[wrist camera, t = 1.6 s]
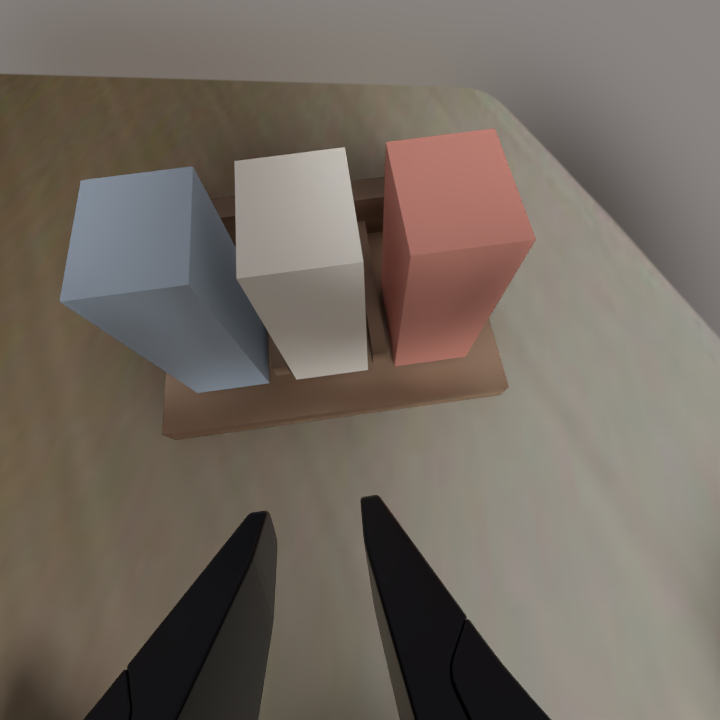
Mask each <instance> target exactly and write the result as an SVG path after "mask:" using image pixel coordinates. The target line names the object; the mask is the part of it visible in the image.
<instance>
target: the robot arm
mask: <svg viewBox="0 0 720 720" xmlns="http://www.w3.org/2000/svg"><path fill="white" fill-rule="evenodd" d="M361 512H362V524H363V536H364V544H365V550H366V557H367V563H368V569H369V576H370V582H371V589H372V595H373V602H374V607H375V612H376V617H377V622H378V626H379V630H380V635H381V639H382V643H383V648H384V652H385V657H386V661H387V665H388V670H389V674H390V678H391V683H392V687H393V692H394V696H395V700H396V705H397V709H398V713H399V718H400V720H551V719H550V718H549V717H548V716H547V715H546V713H545V712H544V711H543V710H542V709H541V708H540V707H539V706H538V704H537V703H536V702H535V701H534V700H533V699H532V698H531V697H530V695H529V694H528V693H527V692H526V691H525V690H524V688H523V687H522V686H521V685H520V684H519V683H518V681H517V680H516V679H515V678H514V677H513V676H512V674H511V673H510V672H509V671H508V670H507V669H506V667H505V666H504V665H503V664H502V662H501V661H500V660H499V659H498V657H497V656H496V655H495V653H494V652H493V651H492V649H491V648H490V647H489V646H488V644H487V643H486V642H485V640H484V639H483V638H482V636H481V635H480V634H479V632H478V631H477V630H476V628H475V627H474V625H473V624H472V623H471V621H470V620H468V619H467V617H466V615H465V613H464V612H463V611H462V609H461V608H460V606H459V605H458V604H457V602H456V601H455V600H454V598H453V597H452V595H451V594H450V593H449V591H448V590H447V589H446V587H445V586H444V584H443V583H442V582H441V580H440V579H439V578H438V576H437V575H436V573H435V572H434V571H433V569H432V568H431V567H430V565H429V564H428V562H427V561H426V560H425V558H424V557H423V556H422V554H421V553H420V551H419V550H418V549H417V547H416V546H415V545H414V543H413V542H412V540H411V539H410V538H409V536H408V535H407V534H406V532H405V531H404V529H403V528H402V527H401V525H400V524H399V523H398V521H397V520H396V518H395V517H394V516H393V514H392V513H391V512H390V510H389V509H388V507H387V506H386V505H385V503H384V502H383V501H382V499H381V498H380V497H379V496H378V495H373V496H366V497H362V498H361ZM276 563H277V538H276V534H275V530H274V526H273V523H272V519H271V516H270V514H269V512H268V511H260V512H253V513H250V514H249V515H248V516H247V517H246V518H245V519H244V521H243V522H242V523H241V524H240V526H239V527H238V528H237V529H236V531H235V532H234V533H233V534H232V536H231V537H230V538H229V539H228V541H227V542H226V543H225V544H224V546H223V547H222V548H221V549H220V551H219V552H218V553H217V554H216V556H215V557H214V558H213V559H212V561H211V562H210V563H209V564H208V566H207V567H206V568H205V569H204V571H203V572H202V573H201V574H200V576H199V577H198V578H197V579H196V581H195V582H194V583H193V584H192V586H191V587H190V588H189V589H188V591H187V592H186V593H185V594H184V596H183V597H182V598H181V599H180V601H179V602H178V603H177V604H176V606H175V607H174V608H173V609H172V611H171V612H170V613H169V614H168V616H167V617H166V618H165V619H164V621H163V622H162V623H161V624H160V626H159V627H158V628H157V629H156V631H155V632H154V633H153V634H152V636H151V637H150V638H149V639H148V641H147V642H146V643H145V644H144V646H143V647H142V648H141V649H140V651H139V652H138V653H137V654H136V656H135V657H134V658H133V659H132V661H131V662H130V663H129V664H128V666H127V670H124V671H123V672H122V673H121V674H120V675H119V677H118V678H117V679H116V680H115V682H114V683H113V684H112V685H111V687H110V688H109V689H108V690H107V692H106V693H105V694H104V695H103V696H102V698H101V699H100V700H99V701H98V702H97V704H96V705H95V706H94V707H93V709H92V710H91V711H90V712H89V713H88V715H87V716H86V717H85V718H84V719H83V720H258V717H259V711H260V704H261V698H262V692H263V685H264V679H265V672H266V666H267V660H268V653H269V647H270V640H271V634H272V627H273V618H274V602H275V583H276Z"/></svg>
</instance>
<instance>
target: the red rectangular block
mask: <svg viewBox="0 0 720 720" xmlns="http://www.w3.org/2000/svg"><path fill="white" fill-rule="evenodd" d="M535 240H536V238H535V236H534V233H533V230H532V228H531V225H530V222H529V220H528V217H527V214H526V211H525V209H524V206H523V203H522V201H521V198H520V195H519V192H518V190H517V187H516V184H515V182H514V179H513V176H512V174H511V171H510V168H509V165H508V163H507V160H506V157H505V155H504V152H503V149H502V146H501V144H500V141H499V138H498V136H497V133H496V130H495V128H494V129H486V130H478V131H470V132H462V133H455V134H447V135H439V136H431V137H423V138H415V139H407V140H399V141H391V142H386V156H385V186H384V216H383V246H382V275H381V292H382V298H383V304H384V309H385V315H386V321H387V326H388V332H389V338H390V343H391V349H392V355H393V360H394V366H401V365H409V364H416V363H423V362H431V361H438V360H446V359H453V358H460V357H466V355H467V353H468V352H469V350H470V348H471V347H472V345H473V343H474V342H475V340H476V338H477V337H478V335H479V333H480V332H481V330H482V328H483V327H484V325H485V323H486V322H487V320H488V318H489V317H490V315H491V313H492V312H493V310H494V308H495V307H496V305H497V303H498V302H499V300H500V298H501V297H502V295H503V293H504V292H505V290H506V288H507V287H508V285H509V283H510V282H511V280H512V278H513V277H514V275H515V273H516V272H517V270H518V268H519V267H520V265H521V263H522V262H523V260H524V258H525V257H526V255H527V253H528V252H529V250H530V248H531V247H532V245H533V243H534V242H535Z"/></svg>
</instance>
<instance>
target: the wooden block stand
mask: <svg viewBox="0 0 720 720" xmlns="http://www.w3.org/2000/svg"><path fill="white" fill-rule="evenodd" d="M350 182H351V188H352V194H353V200H354V206H355V213H356V219H357V225H358V231H359V237H360V243H361V250H362V256H363V262H364V286H365V310H366V335H367V359H368V370H364V371H357V372H349V373H342V374H335V375H327V376H320V377H313V378H305V379H298V380H296V378H295V376H294V375H293V373H292V371H291V370H290V368H289V366H288V365H287V363H286V361H285V359H284V358H283V356H282V354H281V353H280V351H279V349H278V348H277V346H276V344H275V343H274V341H273V339H272V338H271V336H270V334H269V333H268V331H267V339H268V360H269V380H270V383H268V384H261V385H253V386H246V387H239V388H231V389H224V390H217V391H209V392H202V393H197V392H195V391H194V390H192V389H191V388H189V387H188V386H186V385H185V384H183V383H182V382H180V381H179V380H177V379H176V378H174V377H173V376H171V375H169V374H168V373H166V377H165V395H164V412H163V430H162V435H164V436H167V437H169V438H172V439H175V440H177V439H184V438H191V437H199V436H206V435H213V434H220V433H228V432H235V431H242V430H249V429H256V428H264V427H271V426H278V425H285V424H293V423H300V422H307V421H314V420H322V419H329V418H336V417H343V416H351V415H358V414H365V413H372V412H380V411H387V410H394V409H401V408H408V407H416V406H423V405H430V404H437V403H445V402H452V401H459V400H466V399H474V398H481V397H488V396H495V395H501V394H502V393H503V392H504V391H505V390H506V389H507V388H508V383H507V380H506V376H505V373H504V369H503V366H502V362H501V359H500V355H499V352H498V348H497V345H496V341H495V338H494V335H493V331H492V328H491V324H490V321H489V318H488V320H487V322H486V323H485V325H484V327H483V328H482V330H481V332H480V333H479V335H478V337H477V338H476V340H475V342H474V343H473V345H472V347H471V348H470V350H469V352H468V353H467V355H466V357H460V358H453V359H446V360H438V361H431V362H423V363H416V364H409V365H401V366H394V360H393V355H392V349H391V343H390V338H389V332H388V326H387V321H386V315H385V309H384V304H383V298H382V292H381V275H382V246H383V216H384V186H385V177H380V178H372V179H364V180H357V181H350ZM210 200H211V202H212V204H213V205H214V207H215V209H216V211H217V213H218V215H219V217H220V219H221V221H222V222H223V224H224V226H225V228H226V230H227V232H228V234H229V236H230V238H231V240H232V241H233V243H234V245H235V247H236V219H235V196H231V197H223V198H216V199H210Z"/></svg>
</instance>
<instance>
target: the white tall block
mask: <svg viewBox="0 0 720 720" xmlns="http://www.w3.org/2000/svg"><path fill="white" fill-rule="evenodd" d="M235 219H236V279H237V280H238V282H239V284H240V285H241V287H242V289H243V290H244V292H245V294H246V295H247V297H248V299H249V301H250V302H251V304H252V306H253V307H254V309H255V311H256V312H257V314H258V316H259V317H260V319H261V321H262V322H263V324H264V326H265V327H266V329H267V331H268V333H269V334H270V336H271V338H272V339H273V341H274V343H275V344H276V346H277V348H278V349H279V351H280V353H281V354H282V356H283V358H284V359H285V361H286V363H287V365H288V366H289V368H290V370H291V371H292V373H293V375H294V376H295V378H296V380H298V379H305V378H313V377H320V376H327V375H335V374H342V373H349V372H357V371H364V370H368V359H367V335H366V310H365V286H364V262H363V256H362V250H361V243H360V237H359V231H358V225H357V219H356V213H355V206H354V200H353V194H352V188H351V182H350V176H349V170H348V163H347V157H346V151H345V147H343V148H335V149H327V150H319V151H311V152H303V153H295V154H287V155H279V156H271V157H263V158H255V159H247V160H239V161H235Z"/></svg>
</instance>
